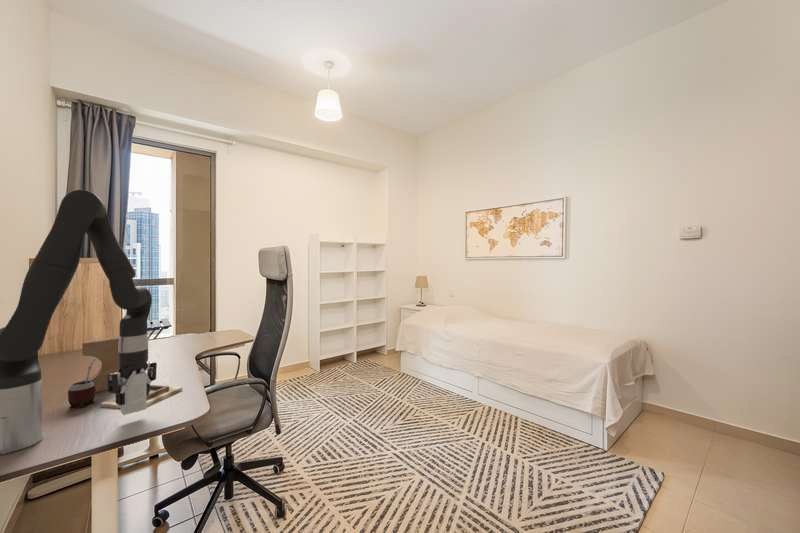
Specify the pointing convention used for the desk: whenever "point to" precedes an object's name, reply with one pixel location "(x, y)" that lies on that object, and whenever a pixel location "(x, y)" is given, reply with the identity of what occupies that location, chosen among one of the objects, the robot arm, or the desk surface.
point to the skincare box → (135, 394)
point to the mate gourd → (82, 392)
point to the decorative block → (102, 359)
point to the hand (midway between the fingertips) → (133, 399)
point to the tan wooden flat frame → (154, 395)
